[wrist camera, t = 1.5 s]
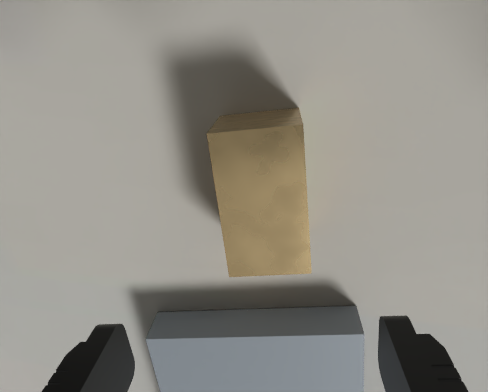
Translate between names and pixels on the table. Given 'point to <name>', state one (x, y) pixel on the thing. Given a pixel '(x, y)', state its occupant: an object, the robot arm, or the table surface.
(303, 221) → the tan rectangular block
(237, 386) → the slate board
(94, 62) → the table surface
